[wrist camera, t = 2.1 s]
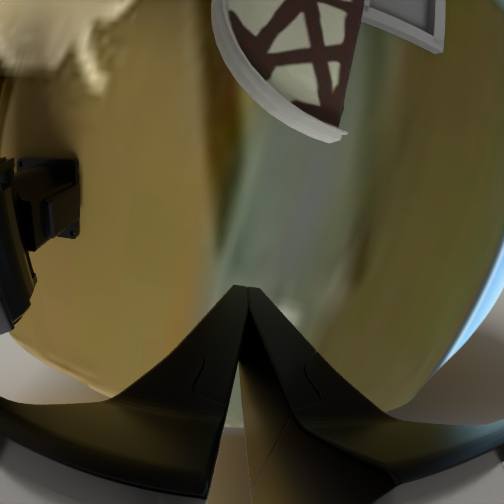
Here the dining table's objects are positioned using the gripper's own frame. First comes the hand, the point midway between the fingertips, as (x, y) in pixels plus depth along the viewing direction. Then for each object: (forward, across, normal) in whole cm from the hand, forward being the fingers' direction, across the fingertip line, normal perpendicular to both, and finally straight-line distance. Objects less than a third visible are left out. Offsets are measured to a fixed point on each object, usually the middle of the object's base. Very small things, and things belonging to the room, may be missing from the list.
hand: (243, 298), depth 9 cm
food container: (+13, 0, -11) cm, 17 cm away
